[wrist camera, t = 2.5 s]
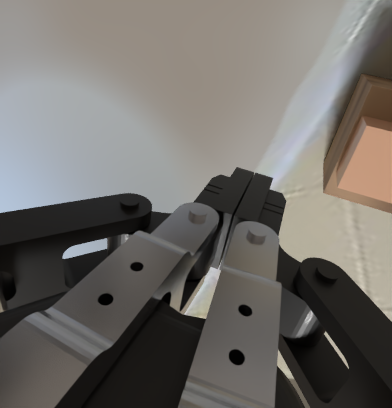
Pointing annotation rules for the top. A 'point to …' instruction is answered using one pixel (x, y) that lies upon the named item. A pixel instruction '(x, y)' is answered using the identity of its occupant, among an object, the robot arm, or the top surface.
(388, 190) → the tile
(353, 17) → the top surface
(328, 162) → the brown block
